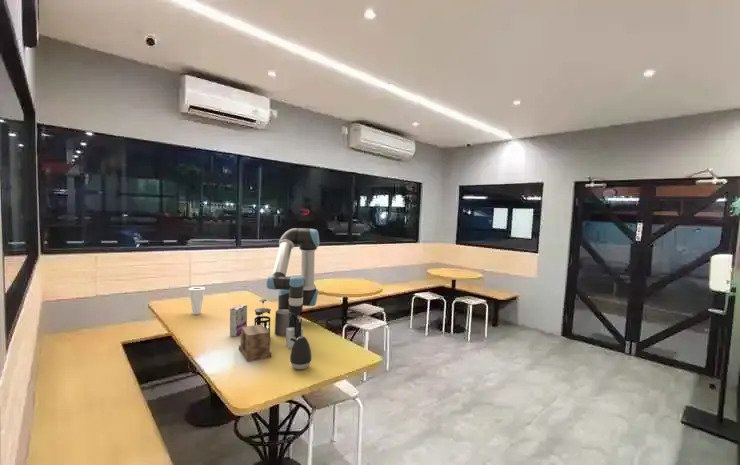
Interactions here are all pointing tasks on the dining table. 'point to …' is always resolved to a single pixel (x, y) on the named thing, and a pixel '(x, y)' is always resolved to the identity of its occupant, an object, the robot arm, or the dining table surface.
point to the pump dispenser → (300, 353)
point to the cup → (196, 298)
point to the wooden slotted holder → (255, 342)
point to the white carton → (291, 336)
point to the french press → (258, 318)
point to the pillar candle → (281, 322)
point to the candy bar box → (238, 319)
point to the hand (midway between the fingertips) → (294, 345)
